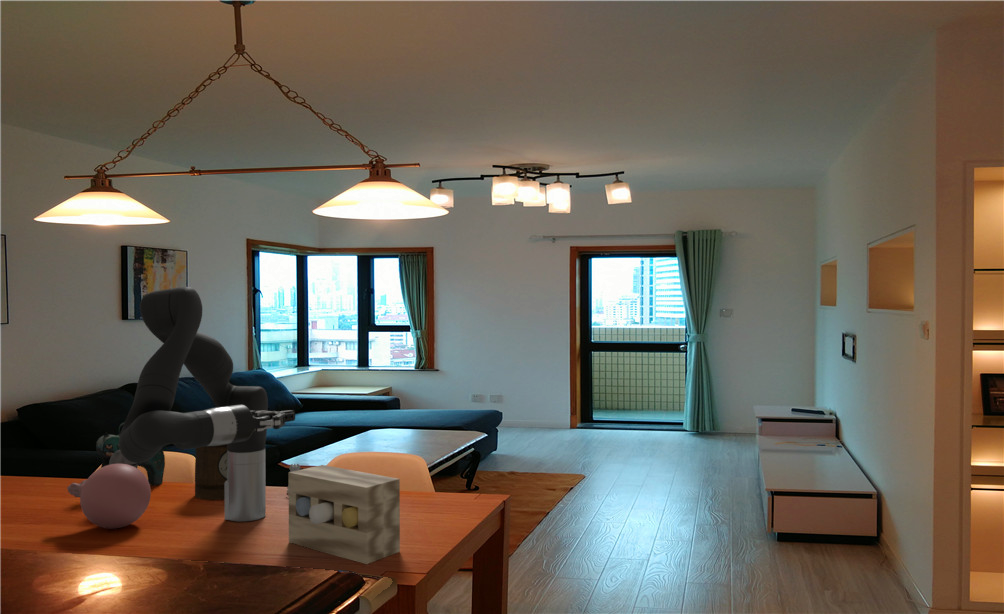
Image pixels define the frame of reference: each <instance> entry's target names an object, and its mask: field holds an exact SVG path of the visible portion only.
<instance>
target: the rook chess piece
mask: <svg viewBox="0 0 1004 614" xmlns="http://www.w3.org/2000/svg"><path fill="white" fill-rule="evenodd" d="M289 465H290V466H289V467H288V469H289V470H290V471H289V472H293V471H297V470H301V469H302V467H301V466H300V463H291V464H289ZM286 489H287V490H286V492H287V494H289V484H288V486H287V488H286Z"/></svg>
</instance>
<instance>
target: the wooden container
mask: <svg viewBox="0 0 1004 614" xmlns="http://www.w3.org/2000/svg"><path fill="white" fill-rule="evenodd" d="M194 457H195V460H194V497H195V498H197V499H199V500H203V501H204V500H205V501H224V483H225V481H227V444H224V445H218V446H204V447H199V448H195V456H194Z"/></svg>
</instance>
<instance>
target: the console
mask: <svg viewBox="0 0 1004 614" xmlns="http://www.w3.org/2000/svg"><path fill="white" fill-rule="evenodd" d="M400 482H401V481H400V478H398V477H397V478H396V477H391V476H387V475H385V476H384V475H381V474H380V475H379V474H374V473H369V472H364V471H359V470H358V471H357V470H353V469H347V468H342V467H337V466H330V465H324V464H320V465H317V466H311V467H307V468H303V469H302V468H301V469H299V470H297V471H293V472H291V471H289V472H288V485H289V493H288V543H289V542H290V543H289V544H292V543H294V544H293V545H295V544H298V545H297V546H299V545H301V546H300V547H303V546H304V547H303V548H306V547H307V549H310V548H311V549H310V550H314V551H318V552H321V553H325V554H327V555H332V556H335V557H339V558H342V559H346V560H350V561H355V562H357V563H362V564H364V565H369V564H372V563H373V562H376V561H379V560H382V559H384V558H387V557H389V556H392V555H394V554H399V553H400V552H401V539H400V538H401V531H400V529H401V527H400V526H401V522H400V521H401V520H400V519H401V518H400V516H401V515H400V514H401V508H400V507H401V504H400V502H401V501H400V500H401V499H400V498H401V497H400V496H401V495H400V494H401V493H400V489H401V485H400V484H401V483H400ZM306 496H308V497H311V507H312V506H314V505H317V504H321V503H325V502H328V501H331V502H334V519H333V520H329V521H326V522H323V523H319V524H314V523H313V522H312V521H311V520H310V517H309V514H308V515H305V516H301V515H299V514H298V512H297V510H296V501H297V500H298V499H299V498H302V497H306ZM353 506H354V507H358V525H356V526H353V527H347V526H345V524H344V523H343V521H342V512H343V510H344V509H346V508H349V507H353Z"/></svg>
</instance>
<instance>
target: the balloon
mask: <svg viewBox="0 0 1004 614" xmlns="http://www.w3.org/2000/svg"><path fill="white" fill-rule="evenodd" d="M66 490H67V493H69V494H70V495H71V496H73V497H74V498H79V502H80V508H81V511H82V512H83V513H82V514H84V516H85V518H86V519H88V521H89V522H91V523H92V524H94V525H95V526H97V527H99V528H103V529H109V530H115V529H121V528H125V527H127V526H130V525H131V524H133V523H135V522H136V521H138V520H139V519H140V518H141V517H142V516H143V514H145V512H146V511H147V509H148V506H149V504H150V500H151V492H152V490H151V485H150V484H149V482H148V477H147V476H146V475H145V474H144V472H142V471H141V470H140V469H139V468H138V467H137V468H135V467H133V466H131V465H127V464H111V465H107V466H104V467H102V468H101V467H100V468H98V469H97V470H96V471H94V472H92V473H91V475H90V476H89V477H88V478H87V479H84V480H82V481H81V482H80V483H76V482H72V483H70V485H68V486H67V489H66Z"/></svg>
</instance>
